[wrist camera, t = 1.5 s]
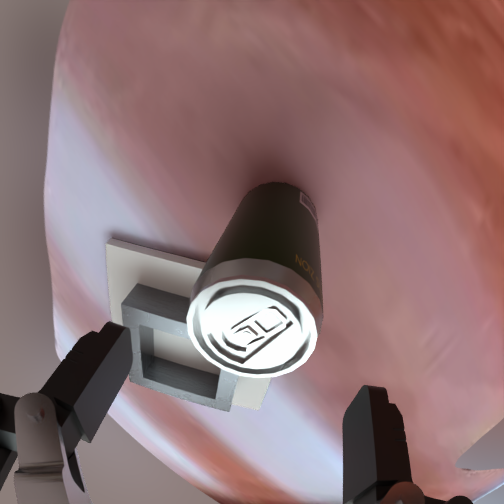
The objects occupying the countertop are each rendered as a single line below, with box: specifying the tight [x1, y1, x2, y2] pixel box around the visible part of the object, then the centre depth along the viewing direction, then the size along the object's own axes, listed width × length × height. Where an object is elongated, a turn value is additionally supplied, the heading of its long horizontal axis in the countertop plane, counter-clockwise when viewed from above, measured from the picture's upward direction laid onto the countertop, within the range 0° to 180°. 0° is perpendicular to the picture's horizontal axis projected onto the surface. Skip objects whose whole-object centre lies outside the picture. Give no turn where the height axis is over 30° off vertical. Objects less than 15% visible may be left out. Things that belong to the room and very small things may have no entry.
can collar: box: [121, 283, 239, 412], centre depth 26 cm, size 10×10×3 cm
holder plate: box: [106, 238, 272, 410], centre depth 28 cm, size 16×16×1 cm
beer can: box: [186, 182, 323, 378], centre depth 17 cm, size 5×5×12 cm
